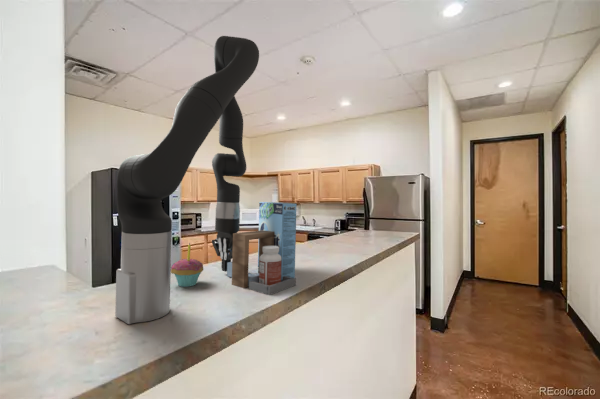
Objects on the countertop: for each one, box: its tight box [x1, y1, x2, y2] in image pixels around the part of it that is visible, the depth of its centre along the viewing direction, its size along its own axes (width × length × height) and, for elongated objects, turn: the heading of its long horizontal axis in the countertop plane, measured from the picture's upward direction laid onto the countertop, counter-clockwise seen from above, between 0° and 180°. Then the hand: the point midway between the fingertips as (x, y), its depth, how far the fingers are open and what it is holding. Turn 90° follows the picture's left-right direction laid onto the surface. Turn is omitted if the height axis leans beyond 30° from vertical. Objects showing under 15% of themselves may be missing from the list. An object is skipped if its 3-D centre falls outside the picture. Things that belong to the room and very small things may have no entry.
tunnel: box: [231, 230, 274, 289], centre depth 85 cm, size 5×12×14 cm, turn 143°
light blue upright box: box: [257, 201, 297, 281], centre depth 94 cm, size 20×5×23 cm, turn 29°
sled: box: [226, 261, 259, 287], centre depth 87 cm, size 13×8×4 cm, turn 53°
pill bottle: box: [259, 246, 281, 286], centre depth 81 cm, size 6×6×11 cm
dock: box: [248, 276, 297, 296], centre depth 81 cm, size 11×8×2 cm
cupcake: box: [171, 242, 204, 288], centre depth 81 cm, size 9×8×12 cm
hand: (226, 270), depth 92 cm, fingers closed
